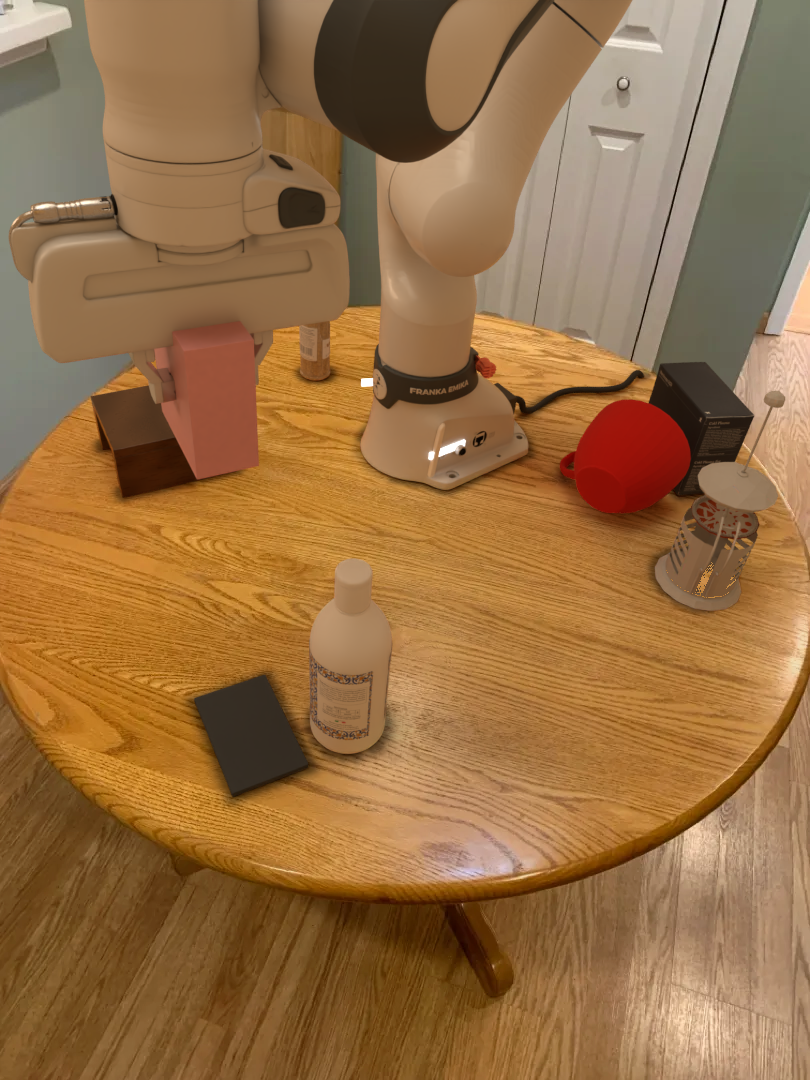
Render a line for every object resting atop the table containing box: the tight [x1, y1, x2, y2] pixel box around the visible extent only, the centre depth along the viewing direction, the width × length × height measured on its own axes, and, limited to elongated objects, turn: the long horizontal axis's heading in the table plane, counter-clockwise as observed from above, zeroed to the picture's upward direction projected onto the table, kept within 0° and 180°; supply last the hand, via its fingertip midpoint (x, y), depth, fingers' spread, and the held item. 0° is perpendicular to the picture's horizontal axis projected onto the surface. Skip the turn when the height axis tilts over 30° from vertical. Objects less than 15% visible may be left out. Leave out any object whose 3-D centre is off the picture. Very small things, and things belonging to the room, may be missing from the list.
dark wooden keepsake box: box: [90, 384, 236, 499], centre depth 104 cm, size 14×12×7 cm
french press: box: [654, 390, 786, 612], centre depth 88 cm, size 10×12×25 cm
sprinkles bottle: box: [298, 321, 332, 381], centre depth 119 cm, size 5×5×13 cm
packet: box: [154, 321, 260, 481], centre depth 59 cm, size 4×9×10 cm, turn 27°
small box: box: [648, 361, 755, 496], centre depth 109 cm, size 13×7×12 cm, turn 12°
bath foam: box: [308, 557, 393, 755], centre depth 72 cm, size 7×7×20 cm
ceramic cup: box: [559, 398, 691, 515], centre depth 103 cm, size 13×17×10 cm
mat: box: [193, 674, 309, 798], centre depth 77 cm, size 7×11×1 cm, turn 27°
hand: (205, 390), depth 59 cm, fingers closed on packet, 4 cm apart
